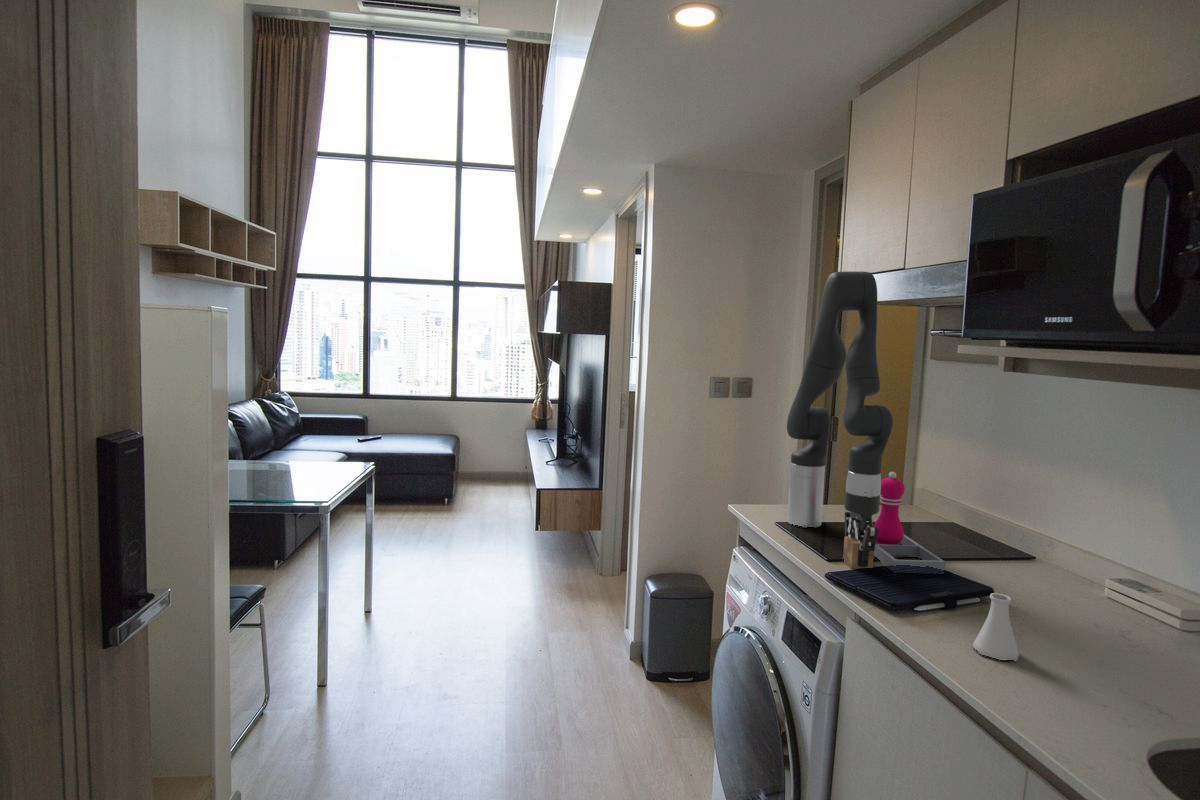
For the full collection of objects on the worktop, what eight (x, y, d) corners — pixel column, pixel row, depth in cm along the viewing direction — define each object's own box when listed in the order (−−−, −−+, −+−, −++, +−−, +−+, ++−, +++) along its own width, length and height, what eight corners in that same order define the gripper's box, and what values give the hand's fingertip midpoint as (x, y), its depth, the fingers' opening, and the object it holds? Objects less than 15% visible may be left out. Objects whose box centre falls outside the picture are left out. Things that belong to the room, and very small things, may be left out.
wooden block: (842, 561, 159) (844, 536, 159) (863, 561, 160) (865, 537, 159) (851, 568, 154) (852, 543, 154) (872, 569, 155) (874, 543, 154)
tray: (854, 541, 174) (855, 530, 174) (898, 542, 174) (899, 531, 174) (893, 573, 152) (894, 560, 152) (944, 574, 152) (945, 561, 152)
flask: (1024, 666, 111) (1030, 608, 110) (975, 657, 113) (980, 601, 112) (1014, 647, 118) (1020, 592, 116) (968, 639, 120) (973, 585, 119)
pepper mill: (872, 552, 166) (878, 473, 164) (870, 543, 173) (875, 467, 171) (904, 556, 164) (910, 476, 162) (900, 547, 171) (906, 470, 169)
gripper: (835, 483, 162) (830, 551, 164) (859, 498, 148) (853, 572, 150) (866, 484, 162) (861, 552, 164) (893, 499, 148) (887, 573, 150)
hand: (857, 561), depth 157 cm, fingers closed on wooden block, 5 cm apart
